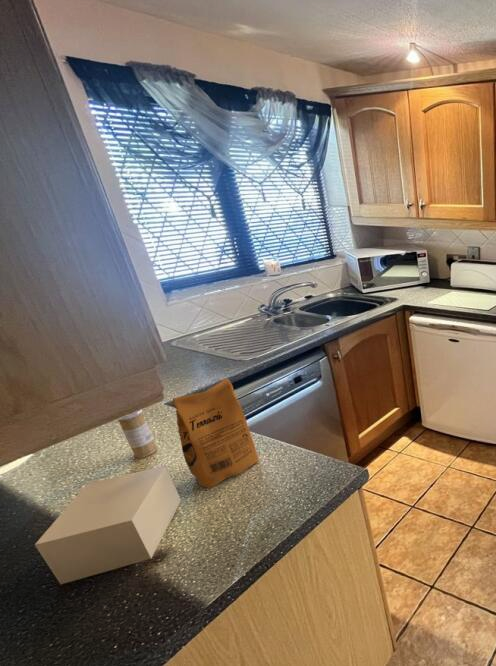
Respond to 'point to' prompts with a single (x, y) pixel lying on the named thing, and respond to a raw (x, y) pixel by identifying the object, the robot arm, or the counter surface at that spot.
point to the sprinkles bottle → (138, 435)
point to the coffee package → (214, 434)
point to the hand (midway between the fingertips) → (127, 410)
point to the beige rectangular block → (110, 525)
